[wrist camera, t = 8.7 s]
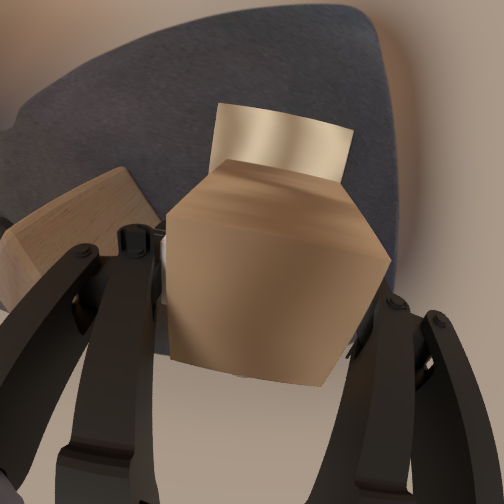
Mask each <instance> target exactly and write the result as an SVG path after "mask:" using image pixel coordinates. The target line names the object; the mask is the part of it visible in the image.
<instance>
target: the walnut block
mask: <svg viewBox="0 0 504 504" xmlns="http://www.w3.org/2000/svg"><path fill="white" fill-rule="evenodd" d="M390 262H391V259H390V258H389V256H388V254H387V253H386V251H385V249H384V248H383V246H382V245H381V243H380V241H379V240H378V238H377V237H376V235H375V234H374V232H373V230H372V229H371V227H370V226H369V224H368V223H367V221H366V220H365V218H364V217H363V215H362V214H361V212H360V211H359V210H358V208H357V207H356V205H355V204H354V202H353V201H352V199H351V198H350V197H349V195H348V194H347V193H346V191H345V190H344V188H343V187H342V186H341V184H340V183H339V182H336V181H332V180H328V179H324V178H320V177H316V176H312V175H308V174H303V173H299V172H294V171H290V170H285V169H280V168H275V167H270V166H265V165H260V164H254V163H249V162H243V161H237V160H231V159H226V160H225V161H224V162H222V163H221V164H220V165H219V166H218V167H217V168H216V169H215V170H213V171H212V172H211V173H210V174H209V175H208V176H207V177H206V178H204V179H203V180H202V181H201V182H200V183H199V184H198V185H197V186H196V187H195V188H194V189H193V190H191V191H190V192H189V193H188V194H187V195H186V196H185V197H184V198H183V199H182V200H181V201H180V202H179V203H178V204H177V205H176V206H175V207H174V208H173V209H172V210H171V211H170V212H169V213H168V214H167V215H166V296H167V318H168V334H169V347H170V359H171V360H175V361H178V362H182V363H186V364H190V365H194V366H198V367H202V368H206V369H211V370H215V371H220V372H224V373H230V374H234V375H239V376H245V377H250V378H257V379H262V380H269V381H275V382H282V383H290V384H298V385H307V386H317V387H321V386H322V384H323V383H324V382H325V380H326V378H327V377H328V376H329V374H330V372H331V371H332V369H333V368H334V366H335V365H336V363H337V361H338V360H339V358H340V357H341V355H342V353H343V352H344V350H345V348H346V347H347V345H348V343H349V342H350V340H351V338H352V337H353V335H354V333H355V331H356V330H357V328H358V326H359V324H360V322H361V321H362V319H363V317H364V315H365V313H366V311H367V309H368V308H369V306H370V304H371V302H372V300H373V298H374V296H375V294H376V292H377V290H378V288H379V286H380V284H381V282H382V279H383V277H384V275H385V273H386V271H387V269H388V267H389V264H390Z"/></svg>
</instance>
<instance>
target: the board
mask: <svg viewBox="0 0 504 504" xmlns="http://www.w3.org/2000/svg"><path fill="white" fill-rule="evenodd" d="M352 136H353V130H350V129H347V128H343V127H340V126H336V125H333V124H329V123H325V122H321V121H317V120H313V119H309V118H305V117H300V116H296V115H291V114H286V113H281V112H276V111H270V110H265V109H259V108H253V107H246V106H239V105H231V104H223V103H218V109H217V116H216V122H215V129H214V136H213V143H212V151H211V158H210V166H209V174H210V173H211V172H212V171H213V170H215V169H216V168H217V167H218V166H219V165H220V164H221V163H222V162H224V161H225V160H226V159H231V160H237V161H243V162H249V163H254V164H260V165H265V166H270V167H275V168H280V169H285V170H290V171H294V172H299V173H303V174H308V175H312V176H316V177H320V178H324V179H328V180H332V181H336V182H339V183H341V179H342V175H343V171H344V168H345V164H346V160H347V156H348V152H349V148H350V144H351V140H352ZM209 174H208V175H209Z"/></svg>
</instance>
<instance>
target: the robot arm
mask: <svg viewBox="0 0 504 504" xmlns="http://www.w3.org/2000/svg"><path fill="white" fill-rule="evenodd" d="M12 226H13V224H12V223H11V222H10V221H9V220H7V219H5V218H0V240H1V238H2V236H3V234H4V232H5V231H6V230H7V229H9V228H10V227H12ZM117 239H118V250H119V253H118V255H117V256H100V255H99V248H98V247H97V246H96V245H94V244H90V243H83V244H82V243H81V244H78V245H76V246H73V247H72V248H70V249H69V250H68V251H67V252H66V253H65V254H64V255H63V256H62V257H61V258H60V259H59V260H58V261H57V262H56V263H55V264H54V265H53V266H52V267H51V268H50V269H49V270H48V271H47V272H46V273H45V274H44V275H43V276H42V277H41V278H40V279H39V280H38V282H37V283H36V284H35V285H34V286H33V287H32V288H31V289H30V290H29V291H28V293H27V294H26V295H25V296H24V297H23V298H22V299H21V301H20V302H19V303H18V304H17V305H16V307H15V308H14V309H13V310H12V311H11V313H10V314H9V315H8V316H7V318H6V319H5V320H4V322H3V323H2V324H1V325H0V504H24V501H23V499H22V497H21V496H20V495H19V494H18V493H17V492H16V491H17V490H18V489H19V487H20V486H21V485H22V483H23V481H24V480H25V478H26V476H27V474H28V472H29V470H30V467H31V465H32V463H33V460H34V457H35V455H36V452H37V449H38V447H39V444H40V442H41V439H42V437H43V434H44V432H45V429H46V427H47V424H48V422H49V420H50V418H51V415H52V413H53V411H54V409H55V406H56V404H57V402H58V400H59V398H60V396H61V394H62V392H63V390H64V388H65V386H66V384H67V382H68V380H69V378H70V376H71V374H72V372H73V370H74V368H75V366H76V364H77V362H78V361H79V359H80V357H81V355H82V353H83V352H84V350H85V348H86V346H87V344H88V343H89V344H88V348H87V352H86V356H85V360H84V365H83V369H82V374H81V378H80V384H79V389H78V394H77V399H76V405H75V412H74V419H73V426H72V434H71V439H70V442H69V444H68V445H66V446H64V447H63V448H61V450H60V452H59V454H58V457H57V462H56V476H55V504H160V502H159V494H158V488H157V484H156V480H155V474H154V460H153V436H152V381H153V357H154V342H155V328H156V316H157V299H158V297H159V296H160V294H161V302H162V304H165V305H167V296H166V220H165V221H162V222H160V223H159V224H158V225H157V226H156V227H155V228H154V229H153V228H151V227H150V226H148V225H145V224H129V225H125V226H123V227H121V228H120V229H119V230H118V231H117ZM75 296H76V300H75V301H74V302H73V300H74V298H75ZM72 302H73V303H72ZM356 332H357V336H358V337H357V339H356V341H355V342H354V344H353V346H352V347H351V349H350V351H349V352H348V354H347V356H346V359H348V358H349V356H350V355H351V358H350V363H349V368H348V373H347V377H346V381H345V386H344V390H343V394H342V398H341V402H340V406H339V410H338V414H337V417H336V420H335V424H334V427H333V431H332V434H331V438H330V441H329V444H328V447H327V450H326V453H325V456H324V459H323V462H322V465H321V468H320V470H319V473H318V476H317V478H316V481H315V484H314V486H313V489H312V491H311V494H310V496H309V498H308V500H307V501H306V503H305V504H504V496H503V486H502V479H501V471H500V465H499V460H498V454H497V449H496V445H495V440H494V436H493V433H492V428H491V424H490V421H489V417H488V414H487V411H486V407H485V404H484V401H483V398H482V395H481V392H480V390H479V386H478V384H477V381H476V378H475V376H474V373H473V371H472V368H471V366H470V363H469V361H468V358H467V356H466V354H465V351H464V349H463V347H462V345H461V342H460V340H459V338H458V336H457V334H456V332H455V330H454V328H453V325H452V324H451V322H450V320H449V319H448V318H447V317H446V316H445V314H443V313H442V312H439V311H436V310H430V311H428V312H427V314H426V315H425V317H424V318H422V317H419V316H417V315H414V314H412V313H410V308H409V305H408V304H407V302H406V301H405V300H404V299H402V298H401V297H400V296H398V295H396V294H393V293H392V291H391V289H390V287H389V285H388V283H387V281H386V280H385V277H383V279H382V282H381V284H380V286H379V288H378V290H377V292H376V294H375V296H374V298H373V300H372V302H371V304H370V306H369V308H368V309H367V311H366V313H365V315H364V317H363V319H362V321H361V322H360V324H359V326H358V328H357V330H356ZM431 357H432V359H433V362H434V364H433V365H432V366H431V367H430V368H429V369H428V368H427V366H426V364H427V362H428V361H429V360H430V359H431ZM410 458H411V467H412V480H413V481H412V482H413V494H411V493H410V492H408V491H407V488H406V487H407V478H408V472H409V465H410Z"/></svg>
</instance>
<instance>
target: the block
mask: <svg viewBox="0 0 504 504" xmlns="http://www.w3.org/2000/svg"><path fill="white" fill-rule="evenodd" d="M160 222H162V221H161V220H160V218H159V217H158V215H157V214H156V212H155V211H154V209H153V208H152V206H151V205H150V203H149V202H148V201H147V199H146V198H145V196H144V194H143V193H142V191H141V190H140V188H139V187H138V185H137V184H136V182H135V181H134V179H133V178H132V176H131V175H130V173H129V171H128V170H127V169H126V168H125V167H122V166H121V167H118V168H115V169H113V170H111V171H109V172H106V173H104V174H102V175H100V176H98V177H96V178H94V179H92V180H90V181H88V182H86V183H84V184H82V185H80V186H78V187H76V188H74V189H73V190H71V191H69V192H67V193H65V194H63V195H62V196H60V197H58V198H56V199H55V200H53V201H51V202H49V203H48V204H46V205H44V206H43V207H41V208H39V209H38V210H36V211H34V212H33V213H31V214H30V215H28V216H27V217H25V218H24V219H22V220H20V221H19V222H17V223H16V224H14V225H13V226H12V227H10V228H9V229H7V230H6V231H5V232H4V234H3V236H2V238H1V240H0V300H1V302H2V303H3V305H4V306H5V307H6V309H7V310H8V311H9V313H11V311H12V310H13V309H14V308H15V307H16V305H17V304H18V303H19V302H20V301H21V299H22V298H23V297H24V296H25V295H26V294H27V293H28V291H29V290H30V289H31V288H32V287H33V286H34V285H35V284H36V283H37V282H38V280H39V279H40V278H41V277H42V276H43V275H44V274H45V273H46V272H47V271H48V270H49V269H50V268H51V267H52V266H53V265H54V264H55V263H56V262H57V261H58V260H59V259H60V258H61V257H62V256H63V255H64V254H65V253H66V252H67V251H68V250H69V249H70V248H72V247H73V246H76V245H78V244H81V243H82V244H83V243H90V244H94V245H96V246H97V247H98V248H99V255H100V256H117V255H118V253H119V250H118V239H117V231H118V230H119V229H120V228H121V227H123V226H125V225H129V224H145V225H148V226H150V227H151V228H153V229H154V228H155V227H156V226H157V225H158V224H159V223H160ZM75 300H76V296H75V298H74V300H73V302H74V301H75ZM73 302H72V303H73Z"/></svg>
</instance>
